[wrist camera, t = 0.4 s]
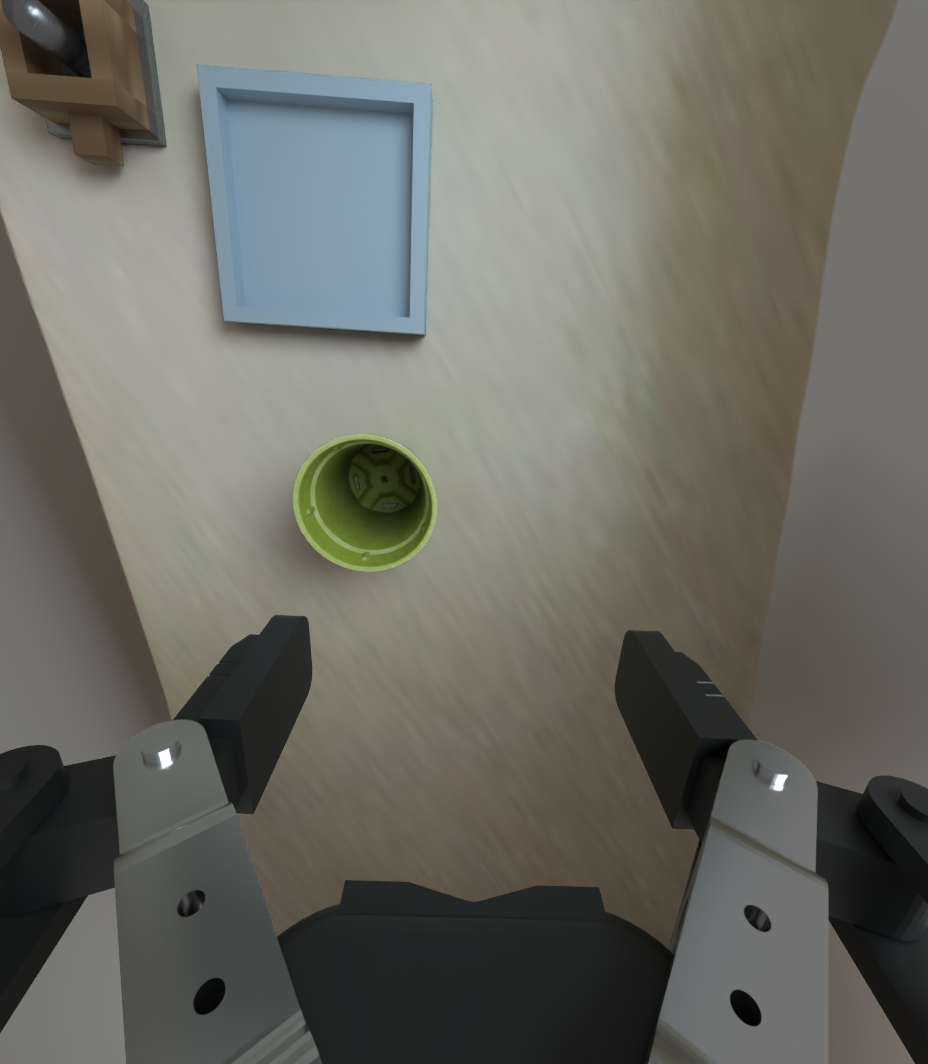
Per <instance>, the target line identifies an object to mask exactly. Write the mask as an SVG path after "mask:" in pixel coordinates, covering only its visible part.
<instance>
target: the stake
mask: <svg viewBox="0 0 928 1064" xmlns="http://www.w3.org/2000/svg"><path fill="white" fill-rule="evenodd" d="M127 1H128V2H129V3H130V4H131V5H132V6H133V11H134V19H135V26H136V33H137V40H138V48H139V55H140V62H141V69H142V77H143V84H144V91H145V98H146V105H147V113H148V120H149V127H150V131H148V130H135V129H122V128H118V130H119V136H120V142H121V143H130V144H143V145H156V146H166V138H165V130H164V123H163V115H162V107H161V99H160V92H159V84H158V76H157V69H156V61H155V53H154V45H153V38H152V30H151V22H150V15H149V7H148V5H147V4H146V3H145V2H144V1H143V0H127ZM1 4H2V9H3V12H4V14H5V16H6V18H7V20H8V21H9V22H10V23H11V24H12V25H13V26H14V27H15V28H16V29H18V30H19V31H20V32H22V33H23V34H24V35H26V36H27V37H28V38H30V39H31V40H32V41H34V42H35V43H36V44H38V45H39V46H40V47H42V48H43V49H44V50H45V51H47V52H48V53H49V54H51V55H52V56H53V57H55V58H56V59H57V60H59V61H60V62H61V63H62V64H63V69H64V75H65V76H71V77H83V78H92V76H91V70H90V64H89V58H88V52H87V46H86V40H85V34H84V29H82V28H70V27H68V26H67V25H66V24H65V23H64V22H63V21H62V20H60V19H59V18H58V17H57V16H56V15H55V14H53V13H52V12H51V11H50V10H49V9H48V8H46V7H45V6H44V5H43V4H42V3H41V2H39V1H38V0H1ZM46 123H47V128H48V132H49V133H51V134H52V135H54V136H56V137H58V138H65V139H72V134H71V129H70V124H58V123H53V122H52V121H50V120H48V119H46Z"/></svg>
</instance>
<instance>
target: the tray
mask: <svg viewBox="0 0 928 1064" xmlns="http://www.w3.org/2000/svg"><path fill="white" fill-rule="evenodd" d="M197 72H198V81H199V91H200V100H201V109H202V119H203V128H204V138H205V147H206V157H207V166H208V175H209V185H210V194H211V204H212V213H213V222H214V232H215V241H216V251H217V260H218V269H219V279H220V288H221V298H222V307H223V317H224V321H229V322H234V323H245V324H260V325H275V326H290V327H305V328H320V329H335V330H350V331H365V332H380V333H395V334H410V335H425V336H426V306H427V273H428V239H429V206H430V173H431V140H432V107H433V100H432V90H431V84H430V83H417V82H405V81H393V80H381V79H368V78H356V77H344V76H332V75H319V74H307V73H295V72H283V71H270V70H258V69H246V68H234V67H221V66H209V65H197Z"/></svg>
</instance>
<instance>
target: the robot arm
mask: <svg viewBox="0 0 928 1064" xmlns="http://www.w3.org/2000/svg"><path fill="white" fill-rule="evenodd" d="M311 680H312V659H311V647H310V634H309V623H308V619H307V617H305V616H284V615H275V616H273V617H272V618H271V620H270V621H269V622H268V624H267V625H266V626H265V628H264V629H263V631H262V632H261V633H260V635H248V636H247V637H245V638H244V639H242V640H241V641H239V642H238V643H236V644H235V645H233V646H232V647H231V648H230V649H229V650H228V651H227V653H226V654H225V655H224V656H223V658H222V659H221V660H220V663H219V664H217V665H216V667H215V668H214V669H213V670H212V672H211V673H210V676H209V677H207V678H206V679H205V680H204V682H203V683H202V684H201V685H200V687H199V688H198V689H197V690H196V692H195V693H194V694H193V695H192V697H191V698H190V699H189V700H188V702H187V703H186V704H185V705H184V707H183V708H182V709H181V710H180V712H179V713H178V714H177V716H176V717H175V718H174V719H173V720H171V721H167V722H163V723H160V724H156V725H154V726H151V727H149V728H147V729H145V730H143V731H141V732H140V733H138V734H137V735H135V736H134V737H132V738H131V739H130V740H128V741H127V743H125V745H123V746H122V748H121V749H120V750H119V752H118V753H117V755H116V756H111V757H107V758H102V759H97V760H92V761H87V762H82V763H77V764H72V765H67V766H63V763H62V760H61V757H60V754H59V752H58V751H57V750H56V749H54V748H52V747H50V746H44V745H34V746H27V747H21V748H17V749H14V750H10V751H7V752H5V753H2V754H0V1032H1V1031H2V1029H3V1028H4V1026H5V1024H6V1023H7V1021H8V1020H9V1019H10V1017H11V1015H12V1014H13V1012H14V1011H15V1009H16V1008H17V1006H18V1004H19V1003H20V1001H21V1000H22V998H23V996H24V995H25V993H26V992H27V990H28V989H29V987H30V986H31V984H32V982H33V981H34V979H35V978H36V976H37V975H38V973H39V971H40V970H41V968H42V967H43V965H44V963H45V962H46V960H47V959H48V957H49V956H50V954H51V953H52V951H53V949H54V948H55V946H56V945H57V943H58V942H59V940H60V938H61V937H62V935H63V934H64V932H65V930H66V929H67V927H68V926H69V924H70V923H71V921H72V920H73V918H74V916H75V915H76V913H77V912H78V910H79V909H80V907H81V905H82V904H83V902H84V901H85V899H86V898H87V896H88V895H90V894H94V893H97V892H100V891H104V890H107V889H110V888H115V897H116V911H117V928H118V943H119V958H120V975H121V989H122V1005H123V1020H124V1037H125V1052H126V1064H828V920H829V921H830V923H831V924H832V926H833V928H834V930H835V931H836V933H837V934H838V936H839V938H840V939H841V941H842V943H843V944H844V946H845V948H846V949H847V951H848V953H849V954H850V956H851V958H852V959H853V961H854V963H855V964H856V966H857V968H858V969H859V971H860V973H861V974H862V976H863V978H864V979H865V981H866V983H867V984H868V986H869V987H870V989H871V991H872V993H873V994H874V996H875V998H876V999H877V1001H878V1003H879V1004H880V1006H881V1008H882V1009H883V1011H884V1013H885V1014H886V1016H887V1018H888V1019H889V1021H890V1023H891V1024H892V1026H893V1027H894V1029H895V1031H896V1033H897V1034H898V1036H899V1037H900V1039H901V1041H902V1043H903V1044H904V1046H905V1047H906V1049H907V1050H908V1052H909V1054H910V1056H911V1057H912V1059H913V1061H914V1062H915V1064H928V789H927V788H925V787H923V786H921V785H918V784H916V783H914V782H911V781H908V780H905V779H902V778H898V777H893V776H876V777H874V778H872V779H871V780H870V781H869V783H868V785H867V787H866V789H865V792H864V793H863V794H860V793H857V792H853V791H850V790H846V789H842V788H839V787H835V786H831V785H828V784H824V783H821V782H818V781H815V779H814V777H813V776H812V774H811V773H810V771H809V770H808V769H807V768H806V767H805V766H804V765H803V764H802V763H801V762H800V761H799V760H797V759H796V758H795V757H793V756H792V755H790V754H789V753H787V752H785V751H784V750H782V749H780V748H778V747H776V746H774V745H771V744H768V743H765V742H762V741H758V740H757V739H756V738H755V736H754V735H753V734H752V732H751V731H750V730H749V728H748V727H747V726H746V725H745V723H744V722H743V721H742V719H741V718H740V717H739V715H738V714H737V713H736V712H735V710H734V709H733V708H732V706H731V705H730V704H729V703H728V701H727V700H726V699H725V697H722V694H721V692H720V691H719V690H718V688H717V687H716V686H715V684H712V681H711V679H710V678H709V677H708V675H707V674H706V673H705V672H704V670H703V669H702V668H701V666H700V665H698V664H697V663H695V662H694V661H693V660H691V659H690V658H689V657H687V656H686V655H684V654H683V653H682V652H675V651H674V650H673V649H672V647H671V646H670V644H669V643H668V642H667V640H666V639H665V638H664V636H663V635H662V634H661V633H660V632H658V631H634V630H629V631H627V632H626V634H625V636H624V640H623V645H622V650H621V655H620V660H619V665H618V670H617V675H616V680H615V697H616V702H617V705H618V708H619V710H620V712H621V715H622V717H623V719H624V721H625V724H626V726H627V728H628V730H629V733H630V735H631V737H632V739H633V741H634V744H635V746H636V748H637V750H638V753H639V755H640V757H641V759H642V762H643V764H644V766H645V768H646V770H647V773H648V775H649V777H650V779H651V782H652V784H653V786H654V788H655V791H656V793H657V795H658V797H659V799H660V802H661V804H662V806H663V808H664V811H665V813H666V815H667V817H668V819H669V822H670V824H671V826H672V828H673V829H695V831H696V834H697V836H698V838H699V842H698V845H697V848H696V851H695V855H694V858H693V862H692V865H691V869H690V872H689V876H688V880H687V883H686V887H685V890H684V894H683V897H682V901H681V904H680V908H679V911H678V915H677V918H676V922H675V926H674V929H673V932H672V936H671V939H670V942H669V946H668V949H667V948H666V947H665V946H664V945H663V944H662V943H661V942H659V941H658V940H656V939H655V938H654V937H652V936H651V935H650V934H648V933H647V932H646V931H644V930H642V929H641V928H639V927H637V926H636V925H634V924H632V923H631V922H629V921H627V920H624V919H622V918H620V917H618V916H616V915H613V914H610V913H607V912H605V909H604V906H603V902H602V898H601V894H600V890H599V887H570V886H534V887H530V888H526V889H523V890H519V891H515V892H512V893H508V894H504V895H501V896H497V897H493V898H490V899H486V900H482V901H477V902H470V901H466V900H463V899H460V898H456V897H453V896H450V895H447V894H444V893H441V892H438V891H435V890H432V889H428V888H425V887H422V886H419V885H416V884H413V883H410V882H390V881H354V880H345V885H344V889H343V894H342V898H341V903H340V904H338V905H335V906H331V907H328V908H326V909H323V910H321V911H318V912H316V913H313V914H312V915H310V916H308V917H306V918H304V919H302V920H301V921H299V922H297V923H296V924H294V925H293V926H291V927H290V928H288V929H287V930H286V931H284V932H283V933H281V934H280V935H279V936H278V937H277V936H276V933H275V930H274V927H273V924H272V921H271V918H270V915H269V912H268V908H267V905H266V902H265V899H264V896H263V893H262V890H261V887H260V884H259V881H258V878H257V875H256V872H255V869H254V866H253V863H252V860H251V857H250V854H249V851H248V848H247V845H246V842H245V839H244V835H243V832H242V829H241V826H240V823H239V820H238V817H237V814H236V813H243V814H254V812H255V809H256V807H257V805H258V803H259V801H260V798H261V796H262V794H263V792H264V790H265V788H266V785H267V783H268V781H269V779H270V777H271V774H272V772H273V770H274V768H275V766H276V763H277V761H278V759H279V757H280V755H281V752H282V750H283V748H284V746H285V744H286V741H287V739H288V737H289V735H290V733H291V730H292V728H293V726H294V724H295V722H296V719H297V717H298V715H299V713H300V711H301V709H302V706H303V704H304V702H305V700H306V698H307V695H308V693H309V690H310V686H311Z"/></svg>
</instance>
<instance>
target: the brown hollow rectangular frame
mask: <svg viewBox="0 0 928 1064" xmlns="http://www.w3.org/2000/svg"><path fill="white" fill-rule="evenodd" d="M38 1H39V2H41V3H42V4H43V5H44V6H45V7H46V8H48V9H49V10H50V11H51V12H52V13H53V14H55V15H56V16H57V17H58V18H59V19H60V20H62V21H63V22H64V23H65V24H66V25H67V26H68V27H70V28H82V29H84V34H85V40H86V46H87V52H88V58H89V64H90V70H91V76H92V78H83V77H71V76H65V75H64V69H63V64H62V63H61V62H60V61H59V60H57V59H56V58H55V57H53V56H52V55H51V54H49V53H48V52H47V51H45V50H44V49H43V48H42V47H40V46H39V45H38V44H36V43H35V42H34V41H32V40H31V39H30V38H28V37H27V36H26V35H24V34H23V33H22V32H20V31H19V30H18V29H16V28H15V27H14V26H13V25H12V24H11V23H10V22H9V21H8V20H7V18H6V16H5V14H4V12H3V9H2V4H1V0H0V47H1V51H2V56H3V61H4V65H5V70H6V74H7V79H8V84H9V88H10V93H11V97H12V98H13V99H14V100H16V101H18V102H19V103H21V104H23V105H25V106H26V107H28V108H30V109H31V110H33V111H35V112H36V113H38V114H40V115H41V116H43V117H45V118H46V119H48V120H50V121H52V122H53V123H58V124H70V129H71V134H72V140H73V145H74V150H75V154H76V155H78V156H80V157H82V158H84V159H86V160H87V161H89V162H91V163H93V164H106V165H119V166H124V161H123V155H122V149H121V142H120V136H119V130H118V128H122V129H135V130H148V131H150V127H149V120H148V113H147V105H146V98H145V91H144V84H143V77H142V69H141V62H140V55H139V48H138V40H137V33H136V26H135V19H134V11H133V6H132V5H131V4H130V3H129V2H128V1H127V0H38Z"/></svg>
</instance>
